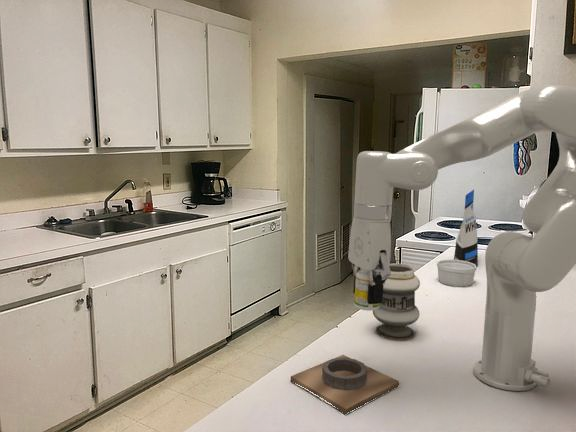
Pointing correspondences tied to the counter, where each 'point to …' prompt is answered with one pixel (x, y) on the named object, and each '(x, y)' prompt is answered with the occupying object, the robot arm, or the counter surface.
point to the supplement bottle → (363, 290)
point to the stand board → (349, 395)
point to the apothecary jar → (398, 303)
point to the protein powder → (467, 234)
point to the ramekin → (456, 272)
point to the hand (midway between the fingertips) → (367, 297)
